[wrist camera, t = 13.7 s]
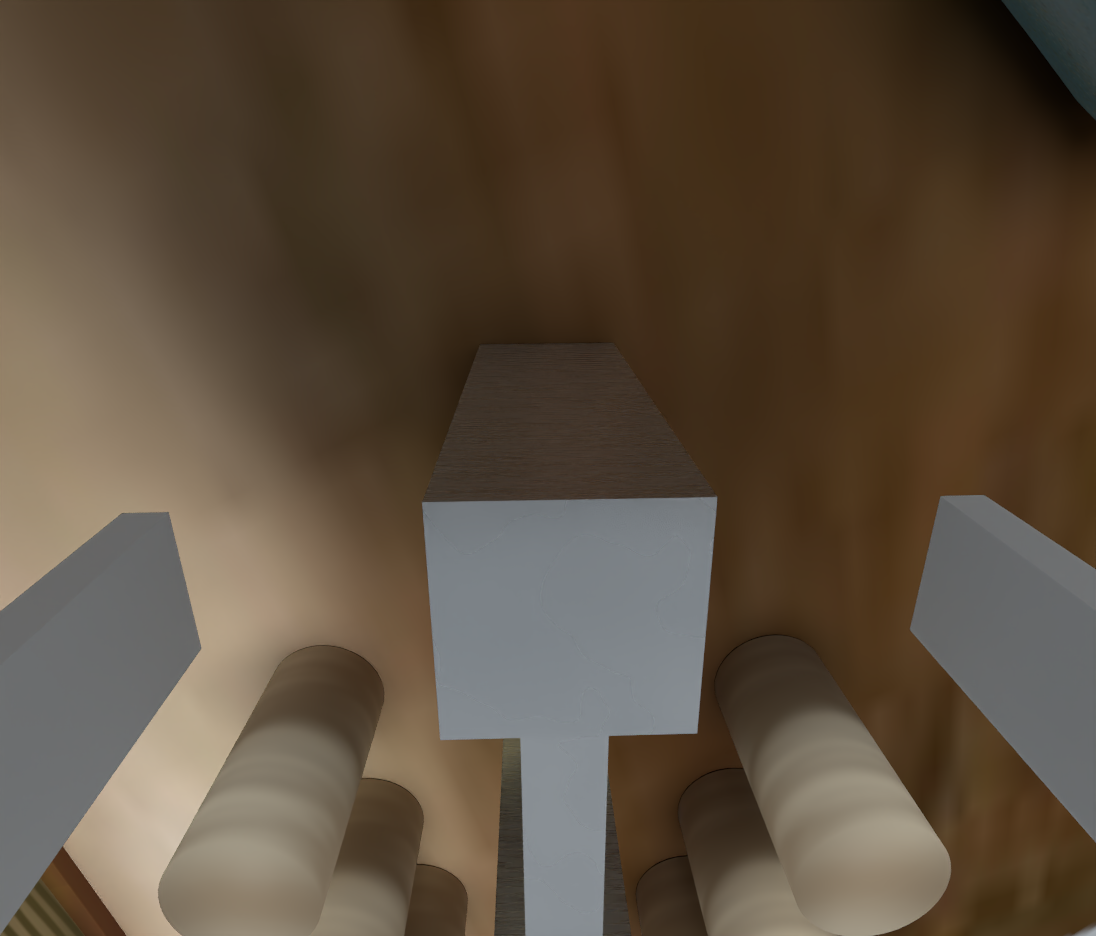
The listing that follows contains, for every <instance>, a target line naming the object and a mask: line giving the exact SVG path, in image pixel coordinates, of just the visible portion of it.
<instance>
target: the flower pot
mask: <svg viewBox="0 0 1096 936" xmlns="http://www.w3.org/2000/svg"><path fill="white" fill-rule="evenodd" d="M1002 2H1003V3H1004V4H1005V6H1006V7H1007V8H1008V9H1009V11H1010V12H1011V13H1012V15H1013V16H1014V17H1015V19H1016V20H1017V21H1018V22H1019V24H1020V25H1021V26H1022V28H1023V29H1024V30H1025V32H1026V33H1027V34H1028V36H1029V37H1030V38H1031V39H1032V41H1033V42H1034V43H1035V45H1036V46H1037V47H1038V49H1039V50H1040V51H1041V53H1042V54H1043V55H1044V57H1045V58H1046V60H1047V61H1048V62H1049V64H1050V65H1051V66H1052V68H1053V69H1054V70H1055V72H1056V73H1057V74H1058V76H1059V77H1060V78H1061V80H1062V81H1063V83H1064V84H1065V85H1066V87H1067V88H1068V89H1069V91H1070V92H1071V94H1072V95H1073V96H1074V98H1075V99H1076V100H1077V101H1078V102H1079V103H1080V104H1081V106H1082V107H1083V108H1084V109H1085V110H1086V111H1087V112H1088V113H1089V114H1090V115H1091V116H1092V117H1093V118H1094V119H1095V120H1096V0H1002Z"/></svg>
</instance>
